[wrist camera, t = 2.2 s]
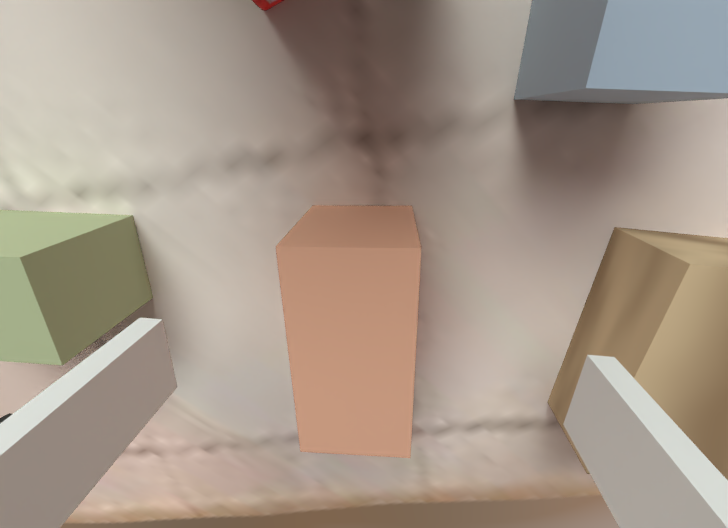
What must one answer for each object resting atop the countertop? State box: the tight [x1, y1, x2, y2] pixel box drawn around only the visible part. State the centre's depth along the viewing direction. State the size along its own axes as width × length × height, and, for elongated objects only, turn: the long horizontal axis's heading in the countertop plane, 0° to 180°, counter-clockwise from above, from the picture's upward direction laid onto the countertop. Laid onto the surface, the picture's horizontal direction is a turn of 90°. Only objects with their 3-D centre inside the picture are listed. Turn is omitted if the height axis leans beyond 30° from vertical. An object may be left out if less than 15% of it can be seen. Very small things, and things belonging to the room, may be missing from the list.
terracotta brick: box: [276, 206, 421, 458], centre depth 13 cm, size 8×4×5 cm, turn 1°
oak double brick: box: [548, 227, 728, 480], centre depth 14 cm, size 7×9×4 cm
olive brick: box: [0, 210, 153, 365], centre depth 14 cm, size 8×4×5 cm, turn 89°
